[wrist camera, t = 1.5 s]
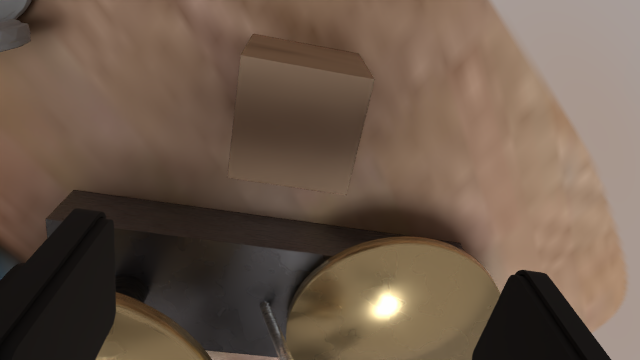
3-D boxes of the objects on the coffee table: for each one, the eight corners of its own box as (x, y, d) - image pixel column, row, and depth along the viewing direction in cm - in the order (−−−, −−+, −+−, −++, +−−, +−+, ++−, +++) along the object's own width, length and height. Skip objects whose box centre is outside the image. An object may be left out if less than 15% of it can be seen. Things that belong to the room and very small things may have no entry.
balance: (443, 361, 37) (503, 528, 26) (46, 320, 33) (-75, 496, 22) (505, 218, 31) (617, 358, 20) (27, 148, 27) (-153, 275, 16)
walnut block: (337, 149, 28) (346, 195, 23) (241, 134, 27) (227, 177, 22) (358, 53, 25) (374, 79, 20) (253, 33, 25) (240, 55, 19)
